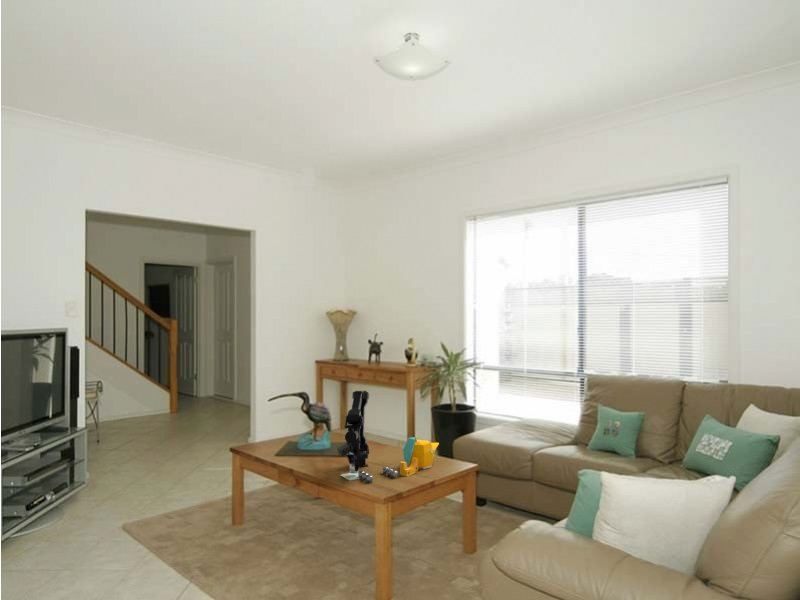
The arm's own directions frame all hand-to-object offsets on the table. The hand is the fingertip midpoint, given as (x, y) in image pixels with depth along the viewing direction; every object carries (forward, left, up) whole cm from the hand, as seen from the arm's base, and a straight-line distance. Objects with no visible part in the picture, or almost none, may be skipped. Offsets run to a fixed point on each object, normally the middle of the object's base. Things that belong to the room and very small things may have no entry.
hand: (354, 469), depth 278 cm
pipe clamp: (+10, +27, -4) cm, 29 cm away
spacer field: (+8, +9, -3) cm, 12 cm away
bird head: (+2, +40, -4) cm, 40 cm away
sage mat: (0, 0, -3) cm, 3 cm away
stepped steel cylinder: (0, 0, -1) cm, 1 cm away
